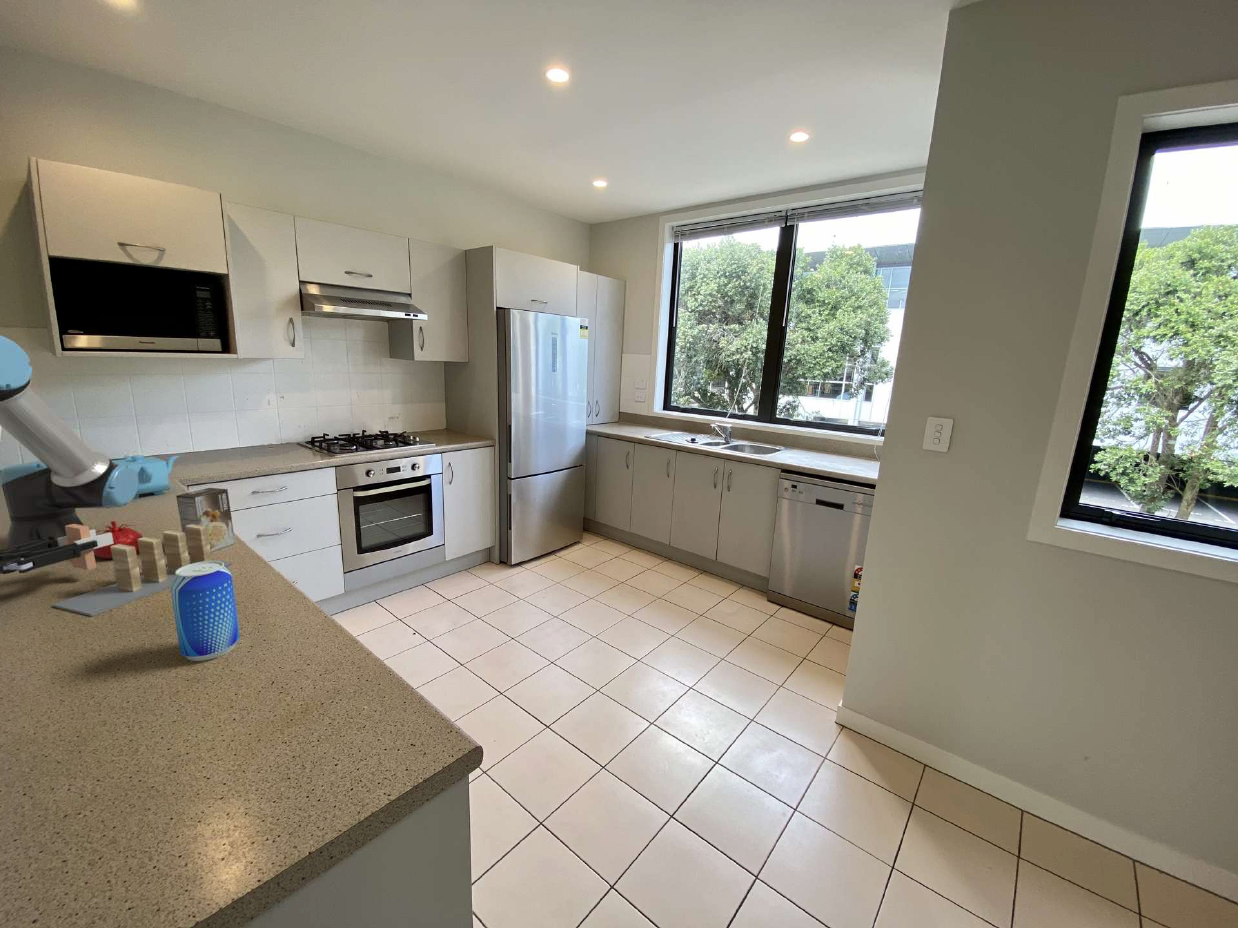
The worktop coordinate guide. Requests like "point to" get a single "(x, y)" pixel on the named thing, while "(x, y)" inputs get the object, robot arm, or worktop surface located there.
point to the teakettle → (150, 473)
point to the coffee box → (208, 515)
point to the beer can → (204, 610)
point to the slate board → (115, 596)
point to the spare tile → (87, 557)
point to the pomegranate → (118, 539)
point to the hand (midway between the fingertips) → (103, 536)
